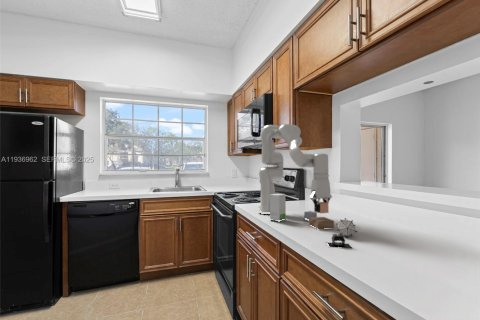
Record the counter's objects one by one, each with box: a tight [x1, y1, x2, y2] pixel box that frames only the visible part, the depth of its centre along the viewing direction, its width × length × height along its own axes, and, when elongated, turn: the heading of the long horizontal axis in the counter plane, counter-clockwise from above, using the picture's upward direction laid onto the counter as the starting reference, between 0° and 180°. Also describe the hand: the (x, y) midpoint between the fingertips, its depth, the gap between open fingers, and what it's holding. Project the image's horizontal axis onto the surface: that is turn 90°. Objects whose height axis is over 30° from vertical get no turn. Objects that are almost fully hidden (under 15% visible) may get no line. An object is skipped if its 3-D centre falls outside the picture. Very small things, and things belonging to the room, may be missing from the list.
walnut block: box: [308, 216, 335, 229], centre depth 121 cm, size 9×9×4 cm
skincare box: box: [269, 193, 287, 220], centre depth 135 cm, size 8×7×16 cm
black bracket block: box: [327, 233, 353, 249], centre depth 92 cm, size 12×7×5 cm, turn 82°
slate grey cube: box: [303, 210, 318, 219], centre depth 136 cm, size 5×5×5 cm
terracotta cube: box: [313, 201, 329, 214], centre depth 121 cm, size 5×5×5 cm
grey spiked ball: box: [335, 217, 358, 239], centre depth 105 cm, size 9×8×10 cm
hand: (321, 210), depth 121 cm, fingers closed on terracotta cube, 5 cm apart
